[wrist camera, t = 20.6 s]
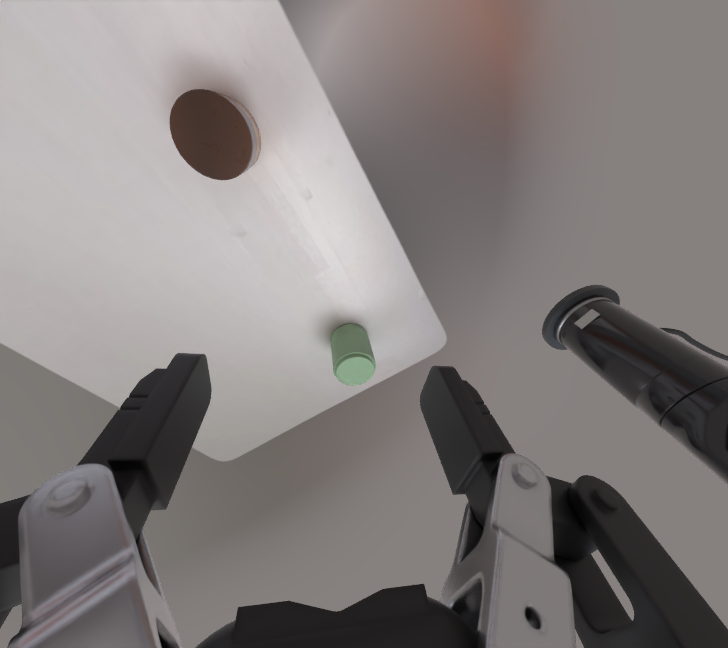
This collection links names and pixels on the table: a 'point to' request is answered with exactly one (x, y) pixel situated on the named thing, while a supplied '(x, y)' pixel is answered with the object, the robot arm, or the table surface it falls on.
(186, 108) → the walnut chip
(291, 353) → the table surface
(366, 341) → the green lidded canister
